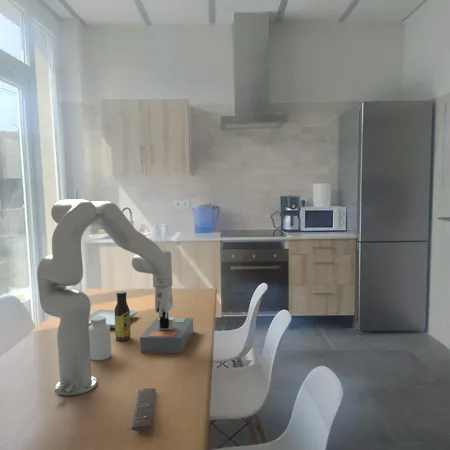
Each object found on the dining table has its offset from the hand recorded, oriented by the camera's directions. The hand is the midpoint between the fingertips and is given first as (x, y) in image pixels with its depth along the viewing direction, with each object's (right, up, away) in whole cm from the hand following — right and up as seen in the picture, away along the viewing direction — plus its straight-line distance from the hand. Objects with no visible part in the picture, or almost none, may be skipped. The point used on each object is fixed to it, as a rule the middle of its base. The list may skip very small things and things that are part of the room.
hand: (164, 327), depth 170 cm
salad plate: (-31, -6, +33) cm, 46 cm away
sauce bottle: (-19, -7, +11) cm, 23 cm away
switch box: (+1, -7, +6) cm, 10 cm away
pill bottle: (-23, -9, -8) cm, 26 cm away
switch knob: (0, -1, +4) cm, 4 cm away
